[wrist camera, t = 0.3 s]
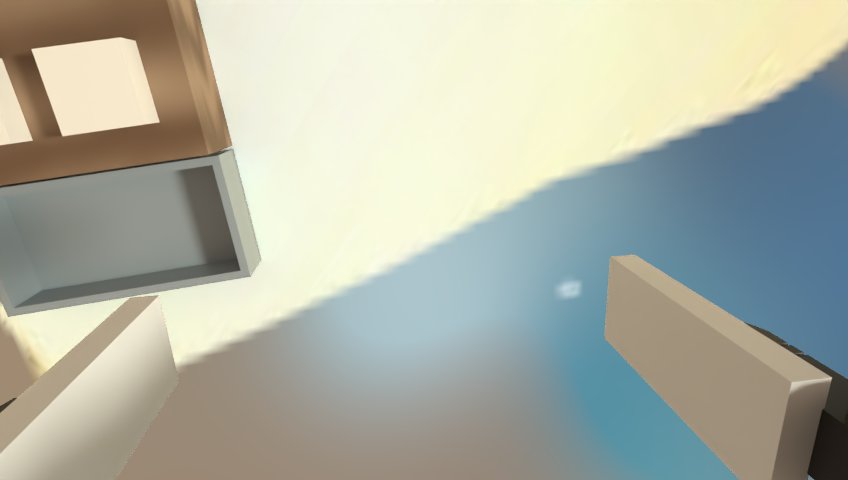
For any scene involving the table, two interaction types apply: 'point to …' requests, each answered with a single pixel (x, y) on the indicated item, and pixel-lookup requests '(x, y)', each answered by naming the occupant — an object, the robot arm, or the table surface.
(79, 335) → the table surface
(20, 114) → the tile
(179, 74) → the wood grain panel
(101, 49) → the tile
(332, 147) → the table surface
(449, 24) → the table surface
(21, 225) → the box
